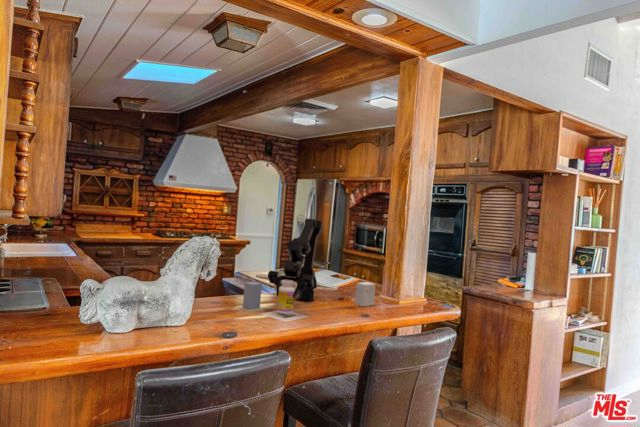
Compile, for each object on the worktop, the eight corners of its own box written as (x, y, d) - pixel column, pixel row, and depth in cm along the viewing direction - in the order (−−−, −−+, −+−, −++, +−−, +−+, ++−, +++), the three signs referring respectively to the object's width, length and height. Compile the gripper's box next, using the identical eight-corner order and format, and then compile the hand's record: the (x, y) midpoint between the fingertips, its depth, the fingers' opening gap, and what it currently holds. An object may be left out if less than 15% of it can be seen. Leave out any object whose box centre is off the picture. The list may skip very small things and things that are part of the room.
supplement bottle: (285, 315, 168) (287, 282, 167) (273, 311, 172) (275, 279, 172) (296, 312, 173) (299, 281, 173) (285, 309, 177) (287, 278, 177)
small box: (365, 302, 211) (366, 281, 211) (374, 305, 207) (375, 283, 207) (354, 304, 205) (356, 282, 205) (363, 307, 201) (365, 284, 201)
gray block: (251, 307, 183) (253, 281, 183) (259, 309, 180) (261, 283, 180) (242, 308, 179) (244, 282, 179) (250, 311, 176) (252, 284, 176)
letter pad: (259, 315, 171) (260, 313, 171) (283, 310, 182) (284, 308, 182) (285, 323, 162) (285, 321, 162) (309, 317, 173) (309, 316, 173)
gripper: (270, 251, 178) (259, 281, 167) (314, 255, 174) (305, 287, 163) (275, 267, 186) (264, 297, 175) (317, 272, 182) (308, 303, 171)
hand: (285, 296), depth 171 cm, fingers closed on supplement bottle, 6 cm apart
